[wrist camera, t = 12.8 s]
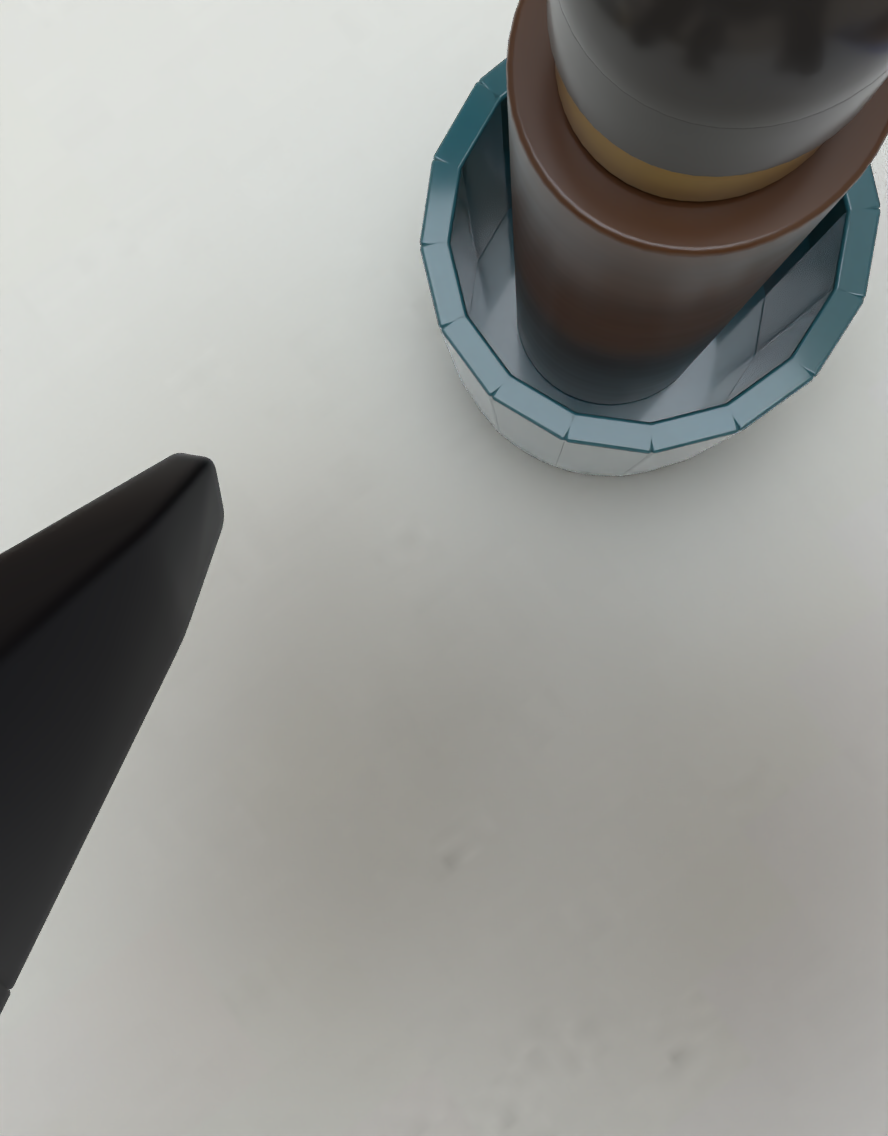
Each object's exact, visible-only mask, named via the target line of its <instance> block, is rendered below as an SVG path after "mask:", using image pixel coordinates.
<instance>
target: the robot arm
mask: <svg viewBox="0 0 888 1136" xmlns="http://www.w3.org/2000/svg"><path fill="white" fill-rule="evenodd" d="M223 521H224V509H223V503H222V498H221V493H220V488H219V483H218V478H217V472H216V468H215V465H214V463H213V462H212V461H211V460H210V459H209V458H207V457H202V456H196V455H190V454H185V453H176V454H173V455H171V456H169V457H167V458H166V459H164V460H162V461H161V462H159V463H157V464H155V465H154V466H152V467H150V468H148V469H147V470H145V471H143V472H142V473H140V474H138V475H136V476H135V477H133V478H131V479H129V480H128V481H126V482H124V483H123V484H121V485H119V486H117V487H116V488H114V489H112V490H110V491H109V492H107V493H105V494H104V495H102V496H100V497H98V498H97V499H95V500H93V501H91V502H90V503H88V504H86V505H85V506H83V507H81V508H79V509H78V510H76V511H74V512H72V513H71V514H69V515H67V516H66V517H64V518H62V519H60V520H59V521H57V522H55V523H53V524H52V525H50V526H48V527H47V528H45V529H43V530H41V531H40V532H38V533H36V534H34V535H33V536H31V537H29V538H28V539H26V540H24V541H22V542H21V543H19V544H17V545H15V546H14V547H12V548H10V549H9V550H7V551H5V552H3V553H2V554H0V1014H1V1012H2V1010H3V1008H4V1006H5V1004H6V1002H7V1000H8V998H9V996H10V990H9V989H12V988H13V986H14V984H15V982H16V980H17V978H18V976H19V974H20V972H21V970H22V968H23V966H24V964H25V962H26V960H27V958H28V956H29V954H30V952H31V950H32V948H33V946H34V944H35V942H36V939H37V937H38V935H39V933H40V931H41V929H42V927H43V925H44V923H45V921H46V919H47V917H48V915H49V913H50V911H51V909H52V907H53V905H54V903H55V901H56V899H57V897H58V895H59V893H60V890H61V888H62V886H63V884H64V882H65V880H66V878H67V876H68V874H69V872H70V870H71V868H72V866H73V864H74V862H75V860H76V858H77V856H78V854H79V852H80V850H81V848H82V846H83V843H84V841H85V839H86V837H87V835H88V833H89V831H90V829H91V827H92V825H93V823H94V821H95V819H96V817H97V815H98V813H99V811H100V809H101V807H102V805H103V803H104V801H105V799H106V796H107V794H108V792H109V790H110V788H111V786H112V784H113V782H114V780H115V778H116V776H117V774H118V772H119V770H120V768H121V766H122V764H123V762H124V760H125V758H126V756H127V754H128V752H129V750H130V747H131V745H132V743H133V741H134V739H135V737H136V735H137V733H138V731H139V729H140V727H141V725H142V723H143V721H144V719H145V717H146V715H147V713H148V711H149V709H150V707H151V705H152V703H153V700H154V698H155V696H156V694H157V692H158V690H159V688H160V686H161V684H162V682H163V680H164V678H165V676H166V674H167V672H168V670H169V668H170V666H171V664H172V662H173V660H174V658H175V656H176V653H177V651H178V649H179V647H180V645H181V642H182V640H183V638H184V636H185V633H186V630H187V628H188V625H189V622H190V620H191V617H192V614H193V611H194V608H195V605H196V602H197V600H198V597H199V594H200V591H201V588H202V585H203V582H204V579H205V577H206V574H207V571H208V568H209V565H210V562H211V559H212V556H213V553H214V551H215V548H216V545H217V542H218V539H219V536H220V533H221V530H222V526H223Z"/></svg>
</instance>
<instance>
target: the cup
mask: <svg viewBox="0 0 888 1136" xmlns="http://www.w3.org/2000/svg"><path fill="white" fill-rule="evenodd" d="M506 61H507V58H506V59H504V60H503V61H502V62H501V63H499V64H498V65H497V66H496V67H494V68H493V69H492V70H491V71H489V72H488V73H487V74H486V75H485V76H483V77H482V78H481V79H480V80H479V82H477V83H476V84H475V86H474V88H473V89H472V91H471V93H470V94H469V96H468V98H467V100H466V101H465V103H464V105H463V107H462V108H461V110H460V112H459V113H458V115H457V117H456V119H455V120H454V122H453V124H452V126H451V127H450V129H449V131H448V132H447V134H446V136H445V138H444V139H443V141H442V143H441V145H440V146H439V148H438V150H437V151H436V153H435V155H434V160H433V162H432V164H431V171H430V178H429V184H428V191H427V198H426V204H425V211H424V218H423V224H422V231H421V237H420V245H421V247H420V251H421V255H422V259H423V263H424V267H425V272H426V276H427V280H428V284H429V288H430V292H431V296H432V301H433V305H434V309H435V313H436V317H437V321H438V325H439V328H440V330H441V333H442V335H443V338H444V340H445V343H446V345H447V348H448V350H449V353H450V355H451V358H452V360H453V363H454V365H455V368H456V370H457V372H458V375H459V377H460V379H461V382H462V384H463V385H464V387H465V388H466V389H467V391H468V392H469V394H470V395H471V397H472V398H473V400H474V401H475V403H476V404H477V406H478V408H479V409H480V411H481V412H482V413H483V415H484V416H485V417H486V418H487V419H488V421H489V422H490V423H491V424H492V425H493V426H494V428H495V429H496V430H497V432H499V433H500V434H501V435H502V436H504V437H505V438H506V439H507V440H509V441H510V442H511V443H512V444H514V445H515V446H517V447H518V448H520V449H521V450H523V451H524V452H525V453H527V454H529V455H531V456H533V457H535V458H537V459H539V460H541V461H542V462H544V463H547V464H550V465H552V466H555V467H558V468H561V469H564V470H567V471H572V472H577V473H581V474H587V475H599V476H626V475H631V474H637V473H643V472H648V471H652V470H655V469H658V468H661V467H664V466H668V465H671V464H675V463H679V462H683V461H685V460H687V459H690V458H692V457H694V456H695V455H697V454H699V453H701V452H703V451H705V450H707V449H709V448H711V447H713V446H714V445H716V444H718V443H720V442H722V441H724V440H726V439H728V438H730V437H731V436H733V435H735V434H737V433H739V432H741V431H743V430H744V429H746V428H747V427H748V426H750V425H751V424H753V423H754V422H755V421H757V420H758V419H760V418H761V417H762V416H764V415H765V414H767V413H768V412H769V411H771V410H772V409H773V408H775V407H776V406H778V405H779V404H780V403H782V402H783V401H785V400H786V399H787V398H789V397H790V396H792V395H793V394H794V393H796V392H797V391H798V390H800V389H801V388H803V387H804V386H805V385H807V384H808V383H810V382H811V381H812V380H813V378H814V377H815V376H817V375H818V373H819V372H820V370H821V368H822V367H823V365H824V364H825V362H826V361H827V359H828V357H829V356H830V354H831V353H832V351H833V350H834V348H835V346H836V345H837V343H838V342H839V340H840V339H841V337H842V335H843V334H844V332H845V331H846V329H847V327H848V326H849V324H850V323H851V321H852V320H853V318H854V316H855V315H856V313H857V312H858V310H859V309H860V307H861V305H862V304H863V301H864V298H865V296H866V292H867V286H868V280H869V274H870V269H871V263H872V257H873V252H874V246H875V240H876V234H877V229H878V223H879V217H880V209H879V208H880V202H879V198H878V193H877V189H876V185H875V181H874V177H873V172H872V168H871V164H870V165H869V166H868V167H867V169H866V170H865V172H864V173H863V174H862V176H861V177H860V178H859V179H858V181H857V182H856V183H855V184H854V185H853V186H852V187H851V188H850V189H849V190H848V192H847V193H846V194H845V195H844V196H843V197H842V198H841V199H840V200H839V202H838V203H837V204H836V205H835V206H834V207H833V208H832V209H831V210H830V211H829V213H828V214H827V215H826V216H825V217H824V218H823V219H822V220H821V221H820V222H819V224H818V225H817V226H816V227H815V228H814V229H813V230H812V231H811V232H810V233H809V235H808V236H807V237H806V238H805V239H804V240H803V241H802V242H801V243H800V244H799V246H798V247H797V248H796V249H795V250H794V251H793V252H792V253H791V254H790V255H789V257H788V258H787V259H786V260H785V261H784V262H783V263H782V264H781V265H780V266H779V268H778V269H777V270H776V271H775V272H774V273H773V274H772V275H771V276H770V277H769V279H768V280H767V281H766V282H765V283H764V284H763V285H762V286H761V287H760V289H759V290H758V291H757V292H756V293H755V294H754V295H753V296H752V297H751V298H750V300H749V301H748V302H747V303H746V304H745V305H744V306H743V307H742V308H741V309H740V311H739V312H738V313H737V314H736V315H735V316H734V317H733V318H732V319H731V320H730V322H729V323H728V324H727V325H726V326H725V327H724V328H723V329H722V330H721V331H720V333H719V334H718V335H717V336H716V337H715V338H714V339H713V340H712V341H711V342H710V344H709V345H708V346H707V347H706V348H705V349H704V350H703V351H702V352H701V353H700V355H699V356H698V357H697V358H696V359H695V360H694V361H693V362H692V363H691V364H690V366H689V367H688V368H687V369H686V370H685V371H684V372H683V373H682V374H681V375H680V376H679V377H678V378H677V379H676V380H675V381H673V382H672V383H671V384H670V385H668V386H667V387H665V388H664V389H662V390H661V391H659V392H657V393H655V394H653V395H651V396H649V397H646V398H643V399H640V400H637V401H633V402H628V403H623V404H598V403H593V402H588V401H584V400H581V399H578V398H575V397H572V396H570V395H568V394H566V393H564V392H562V391H561V390H559V389H558V388H556V387H555V386H554V385H552V384H551V383H550V382H549V381H548V380H546V379H545V378H544V377H543V376H542V375H541V373H540V372H539V371H538V370H537V369H536V368H535V366H534V365H533V363H532V362H531V360H530V359H529V357H528V355H527V353H526V351H525V349H524V346H523V344H522V341H521V337H520V334H519V329H518V323H517V306H516V284H515V261H514V239H513V216H512V193H511V171H510V148H509V126H508V103H507V80H506Z"/></svg>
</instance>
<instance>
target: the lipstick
mask: <svg viewBox="0 0 888 1136" xmlns="http://www.w3.org/2000/svg"><path fill="white" fill-rule="evenodd" d="M506 80H507V103H508V126H509V148H510V171H511V193H512V216H513V239H514V261H515V284H516V306H517V323H518V329H519V334H520V337H521V341H522V344H523V346H524V349H525V351H526V353H527V355H528V357H529V359H530V360H531V362H532V363H533V365H534V366H535V368H536V369H537V370H538V371H539V372H540V373H541V375H542V376H543V377H544V378H545V379H546V380H548V381H549V382H550V383H551V384H552V385H554V386H555V387H556V388H558V389H559V390H561V391H562V392H564V393H566V394H568V395H570V396H572V397H575V398H578V399H581V400H584V401H588V402H593V403H598V404H623V403H628V402H633V401H637V400H640V399H643V398H646V397H649V396H651V395H653V394H655V393H657V392H659V391H661V390H662V389H664V388H665V387H667V386H668V385H670V384H671V383H672V382H673V381H675V380H676V379H677V378H678V377H679V376H680V375H681V374H682V373H683V372H684V371H685V370H686V369H687V368H688V367H689V366H690V364H691V363H692V362H693V361H694V360H695V359H696V358H697V357H698V356H699V355H700V353H701V352H702V351H703V350H704V349H705V348H706V347H707V346H708V345H709V344H710V342H711V341H712V340H713V339H714V338H715V337H716V336H717V335H718V334H719V333H720V331H721V330H722V329H723V328H724V327H725V326H726V325H727V324H728V323H729V322H730V320H731V319H732V318H733V317H734V316H735V315H736V314H737V313H738V312H739V311H740V309H741V308H742V307H743V306H744V305H745V304H746V303H747V302H748V301H749V300H750V298H751V297H752V296H753V295H754V294H755V293H756V292H757V291H758V290H759V289H760V287H761V286H762V285H763V284H764V283H765V282H766V281H767V280H768V279H769V277H770V276H771V275H772V274H773V273H774V272H775V271H776V270H777V269H778V268H779V266H780V265H781V264H782V263H783V262H784V261H785V260H786V259H787V258H788V257H789V255H790V254H791V253H792V252H793V251H794V250H795V249H796V248H797V247H798V246H799V244H800V243H801V242H802V241H803V240H804V239H805V238H806V237H807V236H808V235H809V233H810V232H811V231H812V230H813V229H814V228H815V227H816V226H817V225H818V224H819V222H820V221H821V220H822V219H823V218H824V217H825V216H826V215H827V214H828V213H829V211H830V210H831V209H832V208H833V207H834V206H835V205H836V204H837V203H838V202H839V200H840V199H841V198H842V197H843V196H844V195H845V194H846V193H847V192H848V190H849V189H850V188H851V187H852V186H853V185H854V184H855V183H856V182H857V181H858V179H859V178H860V177H861V176H862V174H863V173H864V172H865V170H866V169H867V167H868V166H869V165H870V163H871V162H872V161H873V159H874V158H875V156H876V155H877V153H878V151H879V149H880V148H881V146H882V144H883V142H884V140H885V138H886V136H887V135H888V0H519V3H518V5H517V8H516V11H515V14H514V17H513V22H512V26H511V31H510V36H509V40H508V50H507V61H506Z"/></svg>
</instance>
